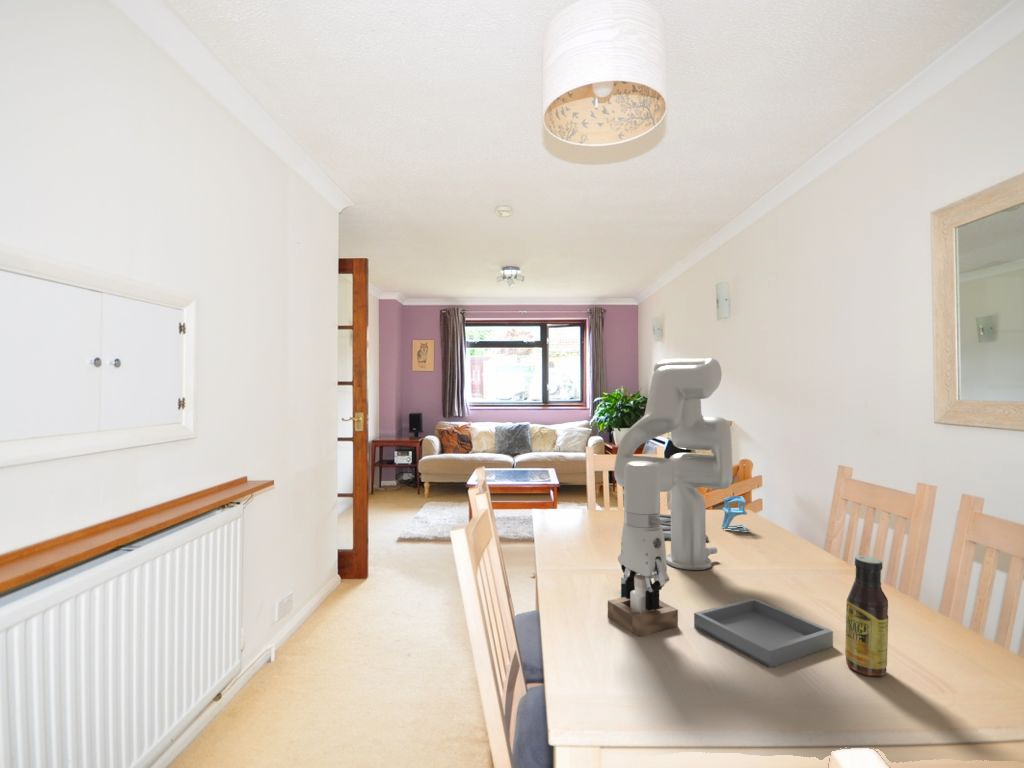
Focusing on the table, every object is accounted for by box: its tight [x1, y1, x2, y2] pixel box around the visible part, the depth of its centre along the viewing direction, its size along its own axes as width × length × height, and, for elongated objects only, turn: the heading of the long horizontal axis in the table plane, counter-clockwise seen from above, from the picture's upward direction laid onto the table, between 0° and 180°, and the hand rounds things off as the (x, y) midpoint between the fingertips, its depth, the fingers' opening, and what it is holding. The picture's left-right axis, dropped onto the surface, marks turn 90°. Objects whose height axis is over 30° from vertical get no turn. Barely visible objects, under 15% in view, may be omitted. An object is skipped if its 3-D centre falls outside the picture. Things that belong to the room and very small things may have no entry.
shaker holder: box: [607, 597, 679, 637], centre depth 113 cm, size 10×10×4 cm
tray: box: [693, 597, 834, 669], centre depth 106 cm, size 18×18×3 cm
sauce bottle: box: [844, 555, 889, 677], centre depth 94 cm, size 7×6×20 cm
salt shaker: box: [630, 574, 653, 613], centre depth 113 cm, size 4×4×10 cm
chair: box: [721, 495, 751, 532], centre depth 188 cm, size 8×8×12 cm
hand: (642, 602), depth 113 cm, fingers open, 5 cm apart
